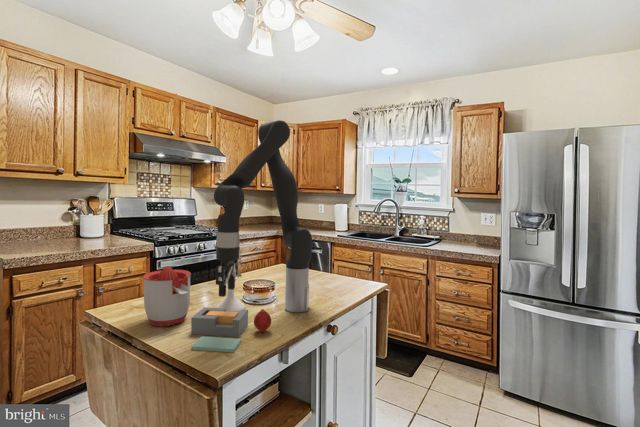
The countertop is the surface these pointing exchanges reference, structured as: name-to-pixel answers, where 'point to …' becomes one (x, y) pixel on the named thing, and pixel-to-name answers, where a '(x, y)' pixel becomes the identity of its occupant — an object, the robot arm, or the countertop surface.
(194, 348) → the mat
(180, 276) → the citrus juicer
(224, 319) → the plank
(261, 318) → the onion
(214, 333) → the kitting block
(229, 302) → the flower in vase
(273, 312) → the countertop surface
